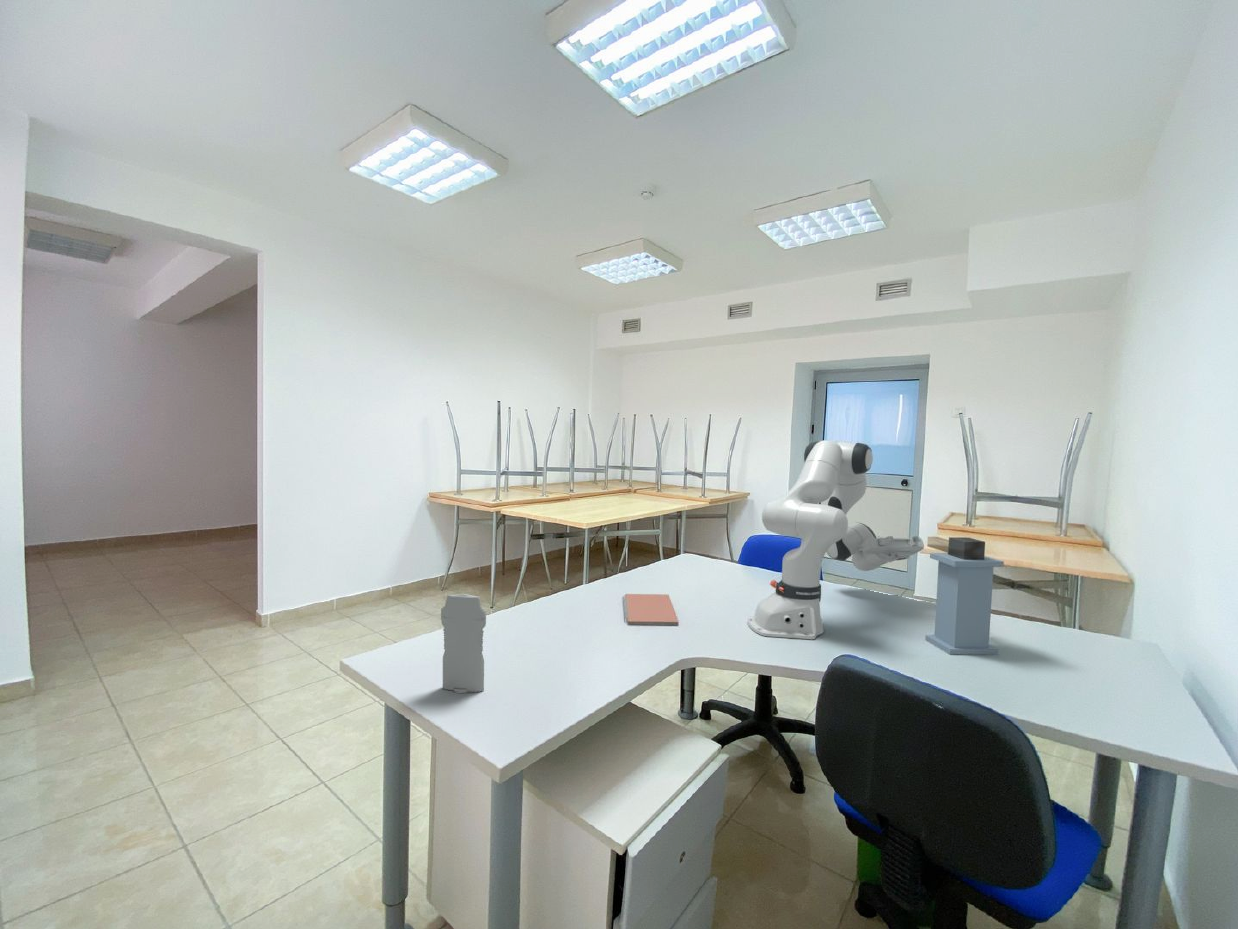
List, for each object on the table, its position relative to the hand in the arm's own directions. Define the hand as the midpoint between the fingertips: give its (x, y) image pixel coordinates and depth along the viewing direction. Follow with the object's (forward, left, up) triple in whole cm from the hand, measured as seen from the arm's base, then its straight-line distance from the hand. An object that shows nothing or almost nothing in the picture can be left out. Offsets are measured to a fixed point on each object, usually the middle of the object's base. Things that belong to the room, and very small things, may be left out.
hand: (904, 538), depth 169 cm
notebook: (-86, +4, -26) cm, 90 cm away
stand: (0, -27, -26) cm, 38 cm away
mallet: (0, -22, 0) cm, 22 cm away
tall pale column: (-135, -48, -26) cm, 145 cm away
